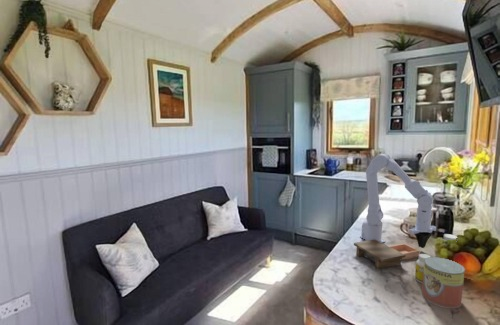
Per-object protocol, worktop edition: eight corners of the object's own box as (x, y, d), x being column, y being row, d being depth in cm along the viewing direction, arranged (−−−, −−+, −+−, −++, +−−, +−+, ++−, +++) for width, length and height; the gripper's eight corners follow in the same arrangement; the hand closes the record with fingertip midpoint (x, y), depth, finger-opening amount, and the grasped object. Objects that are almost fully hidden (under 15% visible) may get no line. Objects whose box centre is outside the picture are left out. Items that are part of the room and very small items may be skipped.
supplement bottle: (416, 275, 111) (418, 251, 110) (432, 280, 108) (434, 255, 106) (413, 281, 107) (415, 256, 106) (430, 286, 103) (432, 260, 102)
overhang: (353, 253, 130) (353, 242, 129) (374, 249, 134) (374, 239, 133) (381, 271, 114) (382, 259, 113) (404, 266, 118) (405, 254, 117)
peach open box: (387, 252, 131) (387, 246, 130) (403, 249, 134) (404, 243, 134) (401, 260, 123) (402, 254, 123) (419, 256, 127) (419, 250, 126)
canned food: (414, 292, 99) (416, 260, 98) (435, 285, 104) (438, 254, 102) (447, 312, 89) (451, 276, 88) (469, 303, 94) (473, 269, 92)
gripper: (419, 223, 124) (417, 253, 126) (443, 219, 129) (440, 248, 131) (406, 218, 131) (404, 246, 132) (429, 215, 135) (426, 242, 137)
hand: (421, 247), depth 132 cm, fingers closed
